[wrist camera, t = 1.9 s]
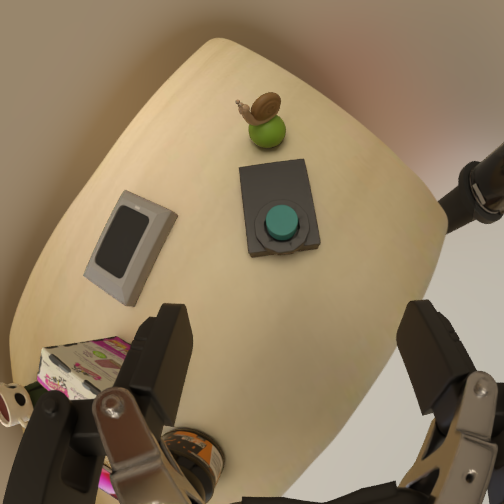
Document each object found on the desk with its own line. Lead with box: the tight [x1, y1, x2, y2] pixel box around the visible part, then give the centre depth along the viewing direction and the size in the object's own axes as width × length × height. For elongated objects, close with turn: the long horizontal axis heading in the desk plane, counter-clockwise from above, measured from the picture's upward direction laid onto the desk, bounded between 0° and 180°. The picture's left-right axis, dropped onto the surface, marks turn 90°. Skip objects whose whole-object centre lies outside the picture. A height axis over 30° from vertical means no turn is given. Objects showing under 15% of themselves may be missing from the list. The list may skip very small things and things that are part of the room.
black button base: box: [239, 159, 320, 257], centre depth 36 cm, size 13×9×5 cm
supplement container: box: [162, 429, 224, 504], centre depth 28 cm, size 10×10×12 cm
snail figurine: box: [236, 92, 286, 148], centre depth 35 cm, size 5×6×12 cm
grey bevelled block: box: [83, 190, 178, 306], centre depth 39 cm, size 10×4×15 cm
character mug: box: [0, 381, 48, 428], centre depth 31 cm, size 11×7×13 cm, turn 63°
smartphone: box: [98, 465, 118, 500], centre depth 32 cm, size 7×1×15 cm
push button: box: [266, 205, 298, 240], centre depth 33 cm, size 4×4×2 cm
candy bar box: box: [37, 336, 131, 400], centre depth 29 cm, size 11×5×16 cm, turn 68°
